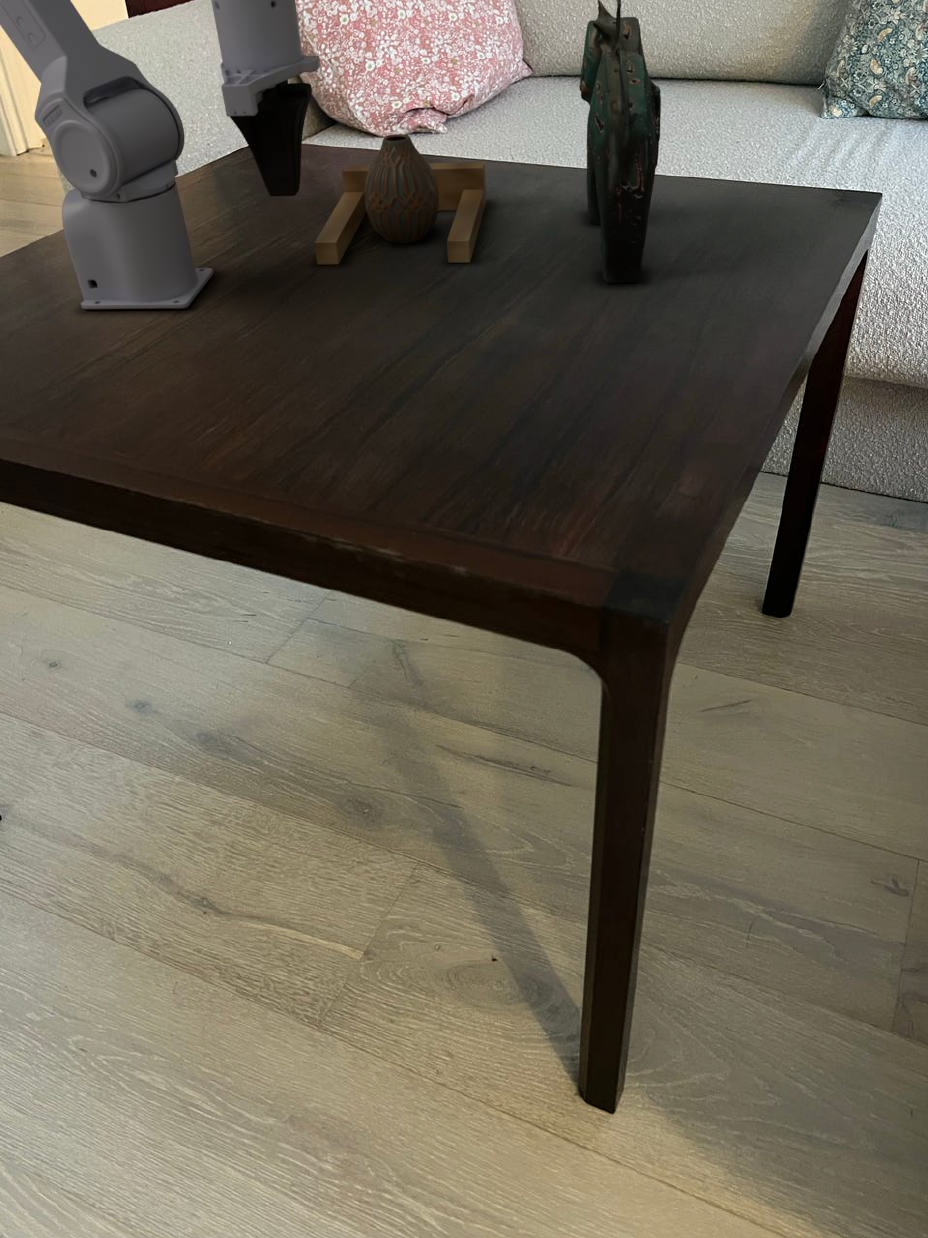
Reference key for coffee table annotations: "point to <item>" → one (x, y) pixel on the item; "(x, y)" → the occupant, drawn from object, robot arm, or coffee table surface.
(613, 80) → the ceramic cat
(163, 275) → the robot arm
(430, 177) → the vase
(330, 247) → the rack
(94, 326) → the coffee table surface
